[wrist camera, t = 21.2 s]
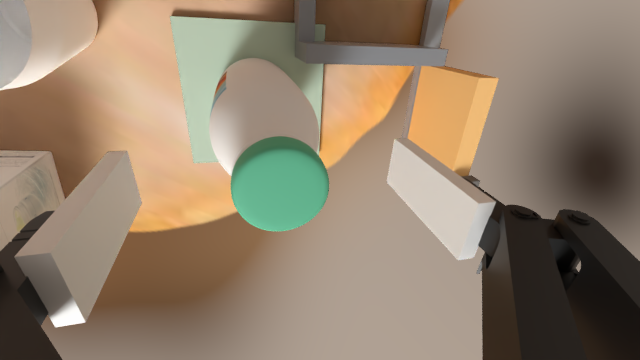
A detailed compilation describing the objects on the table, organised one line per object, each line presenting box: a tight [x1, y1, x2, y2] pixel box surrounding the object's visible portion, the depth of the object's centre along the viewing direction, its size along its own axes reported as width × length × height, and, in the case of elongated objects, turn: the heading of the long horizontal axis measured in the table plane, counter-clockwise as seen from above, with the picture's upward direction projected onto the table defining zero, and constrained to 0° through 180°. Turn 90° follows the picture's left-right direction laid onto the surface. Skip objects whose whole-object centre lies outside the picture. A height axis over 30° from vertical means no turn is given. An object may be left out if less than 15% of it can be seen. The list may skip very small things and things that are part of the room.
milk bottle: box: [209, 58, 329, 231], centre depth 22 cm, size 8×8×20 cm
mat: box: [170, 16, 325, 163], centre depth 31 cm, size 14×14×1 cm
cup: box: [0, 0, 98, 90], centre depth 19 cm, size 9×9×12 cm
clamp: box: [294, 0, 450, 138], centre depth 29 cm, size 25×16×6 cm, turn 177°
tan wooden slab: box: [408, 66, 499, 187], centre depth 31 cm, size 11×3×10 cm, turn 177°
